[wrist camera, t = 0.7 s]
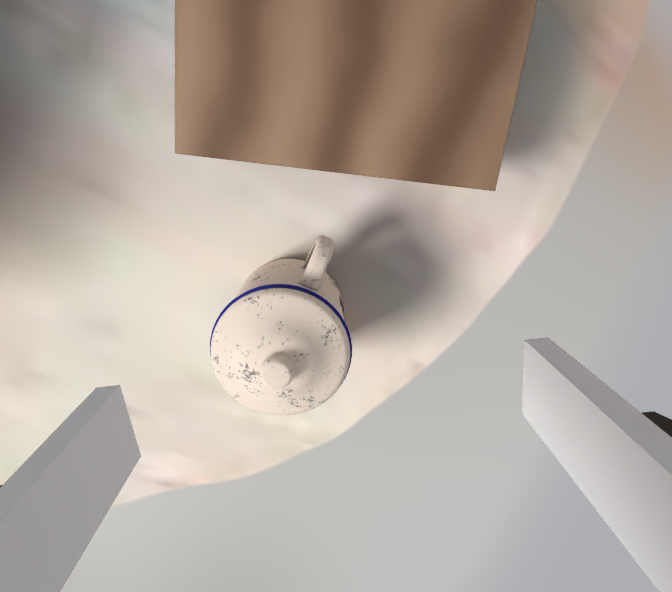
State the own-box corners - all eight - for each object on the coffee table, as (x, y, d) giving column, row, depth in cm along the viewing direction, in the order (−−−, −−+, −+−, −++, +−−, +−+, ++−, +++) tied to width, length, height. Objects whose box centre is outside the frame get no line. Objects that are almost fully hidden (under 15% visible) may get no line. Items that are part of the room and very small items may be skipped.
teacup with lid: (319, 372, 38) (317, 462, 27) (220, 334, 37) (174, 412, 26) (379, 249, 35) (405, 293, 24) (273, 201, 33) (247, 224, 22)
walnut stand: (201, 153, 32) (175, 153, 26) (207, -154, 27) (175, -237, 21) (466, 184, 33) (495, 191, 28) (523, -104, 28) (574, -170, 22)
